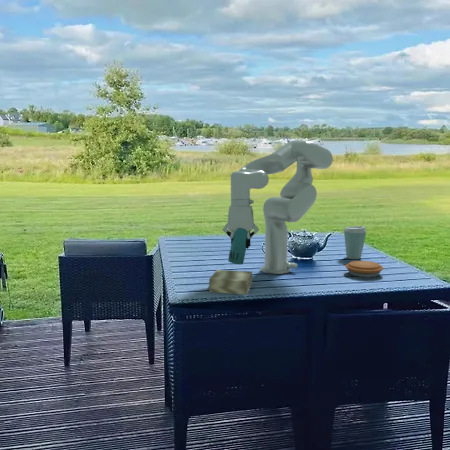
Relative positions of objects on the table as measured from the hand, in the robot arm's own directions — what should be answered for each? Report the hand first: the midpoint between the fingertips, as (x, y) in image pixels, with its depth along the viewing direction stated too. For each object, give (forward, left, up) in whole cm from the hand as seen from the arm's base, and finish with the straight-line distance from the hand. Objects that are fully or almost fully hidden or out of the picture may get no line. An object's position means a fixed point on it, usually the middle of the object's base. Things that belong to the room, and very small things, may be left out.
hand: (240, 247), depth 223 cm
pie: (-50, -18, -13) cm, 55 cm away
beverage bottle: (+2, +1, -8) cm, 8 cm away
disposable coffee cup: (-47, -49, -13) cm, 69 cm away
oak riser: (+1, +14, -13) cm, 19 cm away
